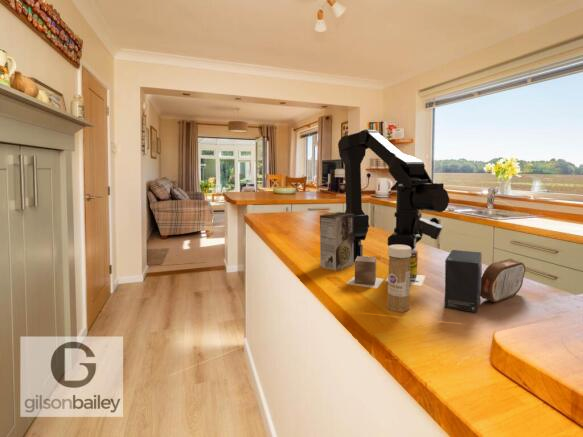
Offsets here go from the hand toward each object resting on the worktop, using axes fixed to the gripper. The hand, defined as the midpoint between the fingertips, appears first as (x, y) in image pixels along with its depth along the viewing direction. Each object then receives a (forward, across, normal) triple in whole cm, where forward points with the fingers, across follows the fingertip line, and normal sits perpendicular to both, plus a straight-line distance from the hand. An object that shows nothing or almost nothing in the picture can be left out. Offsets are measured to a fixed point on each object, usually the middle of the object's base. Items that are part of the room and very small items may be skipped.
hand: (406, 266), depth 91 cm
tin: (+3, -6, -22) cm, 23 cm away
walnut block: (+3, -7, +9) cm, 12 cm away
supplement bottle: (+3, 0, 0) cm, 3 cm away
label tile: (+3, 0, 0) cm, 3 cm away
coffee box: (+4, +4, +21) cm, 22 cm away
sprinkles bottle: (+4, -21, -2) cm, 21 cm away
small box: (+3, -12, -14) cm, 19 cm away
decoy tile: (+3, -7, +9) cm, 12 cm away
